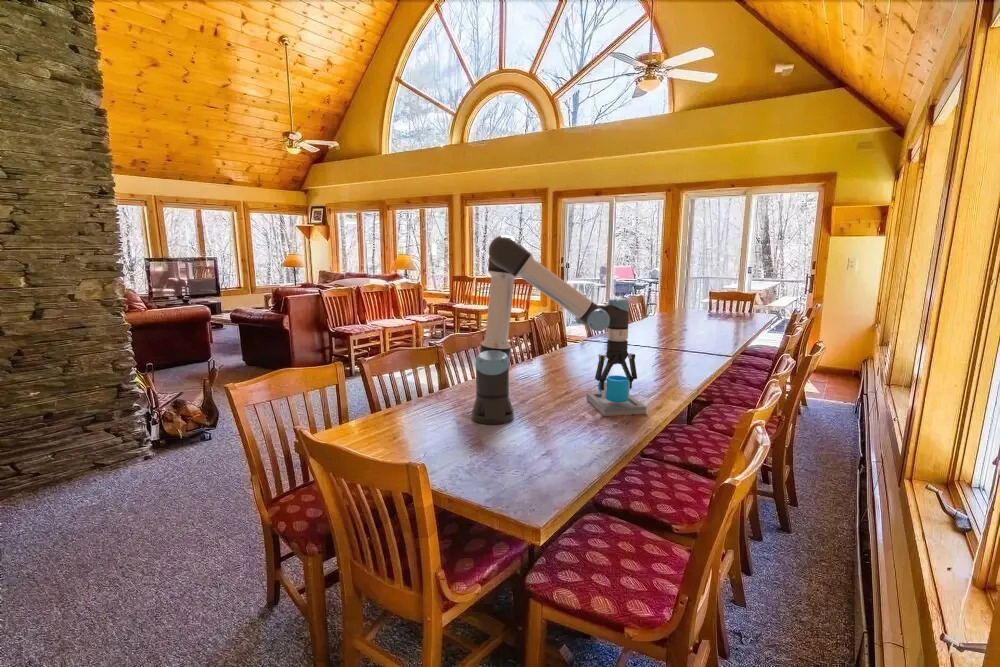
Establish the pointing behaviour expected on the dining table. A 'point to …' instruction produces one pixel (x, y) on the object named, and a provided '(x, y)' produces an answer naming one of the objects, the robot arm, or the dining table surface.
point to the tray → (616, 405)
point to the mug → (616, 388)
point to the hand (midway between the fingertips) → (615, 397)
